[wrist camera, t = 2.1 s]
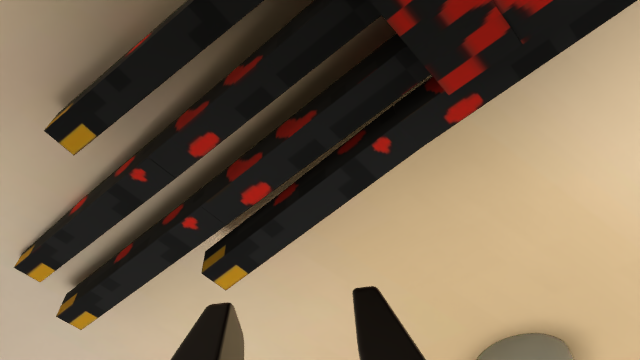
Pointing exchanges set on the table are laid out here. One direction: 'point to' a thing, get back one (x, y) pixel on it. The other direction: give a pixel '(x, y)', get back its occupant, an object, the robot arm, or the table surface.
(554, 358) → the grey cylinder
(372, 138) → the toy
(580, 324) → the table surface
